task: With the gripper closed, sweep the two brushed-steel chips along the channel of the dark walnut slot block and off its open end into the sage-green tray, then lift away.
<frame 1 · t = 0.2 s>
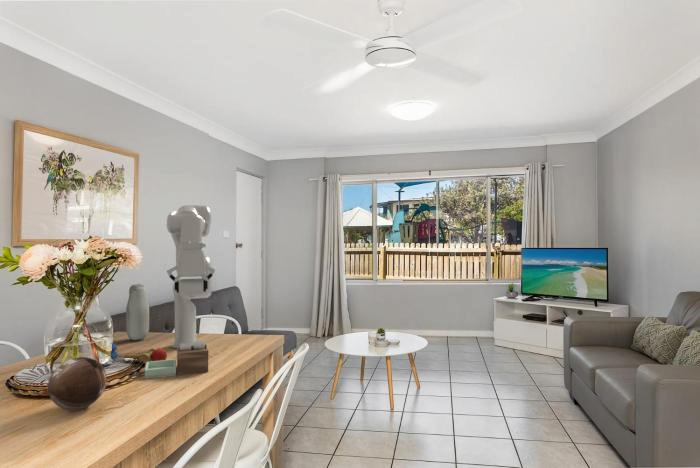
hand: (191, 291, 169), 31 cm above the table, tool pointing down, fingers open, 9 cm apart
slot block: (192, 369, 173), on the table
grey bottle vase: (137, 340, 222), on the table
wooden sphere: (78, 408, 133), on the table
chip 1: (185, 354, 172), point 6 cm above the table, touching slot block
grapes: (101, 366, 178), on the table
tray: (161, 372, 168), on the table
chip 2: (199, 353, 174), point 6 cm above the table, touching slot block
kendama: (145, 363, 182), on the table
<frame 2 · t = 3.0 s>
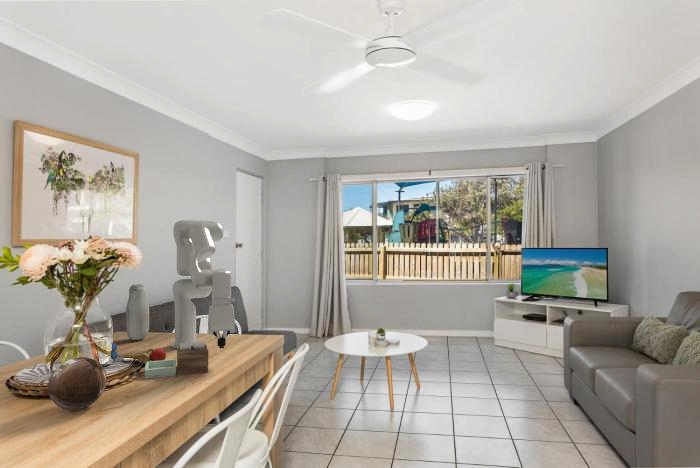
hand: (221, 347, 177), 7 cm above the table, tool pointing down, fingers closed
nothing on the table moved.
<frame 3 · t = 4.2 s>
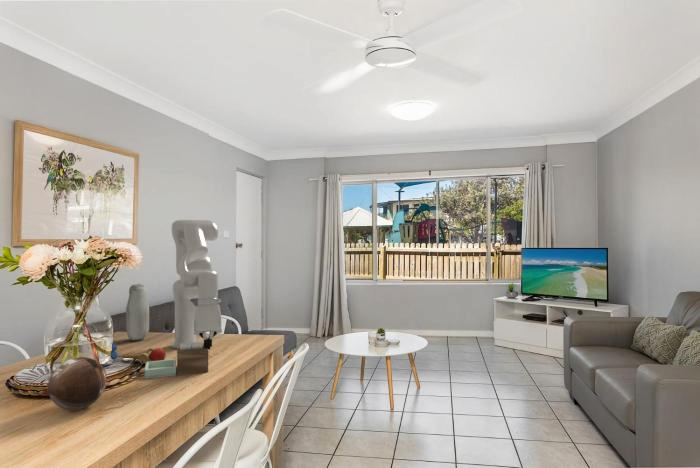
hand: (207, 348, 175), 7 cm above the table, tool pointing down, fingers closed
chip 2: (196, 353, 173), point 6 cm above the table, touching gripper
everything else where it was.
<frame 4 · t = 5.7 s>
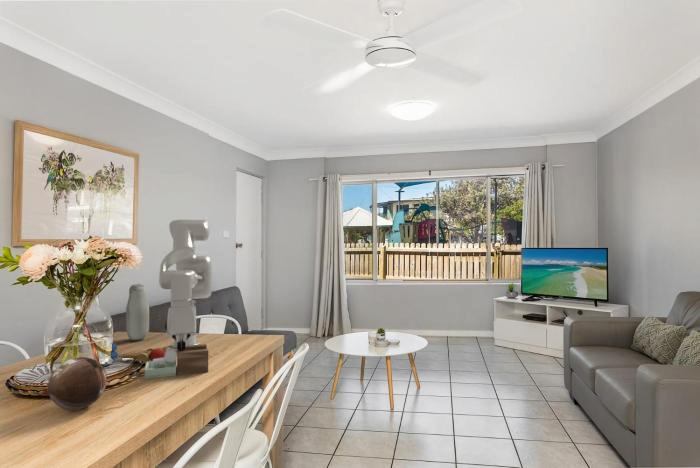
hand: (181, 351, 171), 7 cm above the table, tool pointing down, fingers closed
chip 1: (164, 363, 169), point 3 cm above the table, tilted 95°, touching chip 2, tray
chip 2: (175, 356, 170), point 6 cm above the table, tilted 71°, touching chip 1, gripper
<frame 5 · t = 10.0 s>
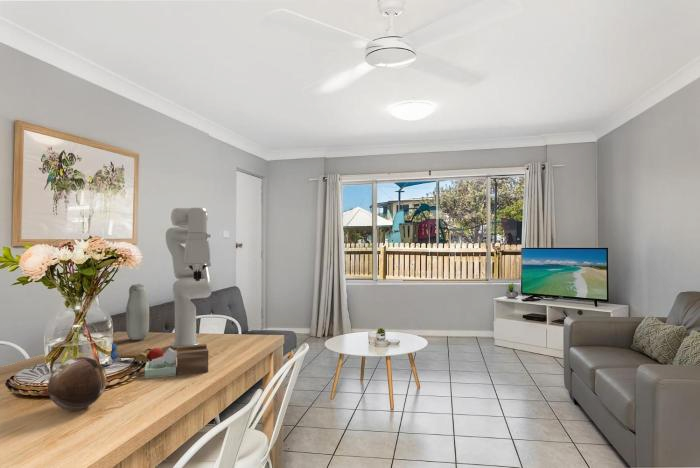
hand: (197, 280, 186), 33 cm above the table, tool pointing down, fingers closed
chip 1: (164, 362, 169), point 4 cm above the table, tilted 101°, touching chip 2, tray
chip 2: (174, 358, 170), point 5 cm above the table, tilted 52°, touching chip 1, slot block
at the end: chip 1 inside the target area on the tray (1.0 cm from its centre), point 3.5 cm above the tray's base; chip 2 inside the target area on the tray (4.7 cm from its centre), point 4.8 cm above the tray's base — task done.
